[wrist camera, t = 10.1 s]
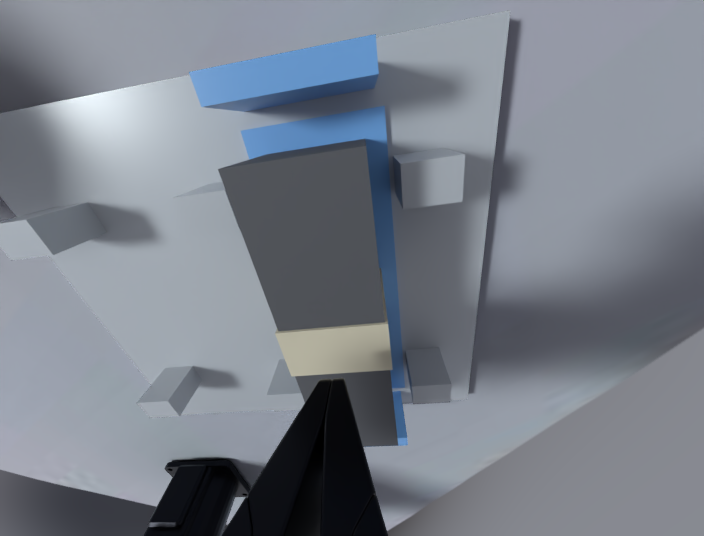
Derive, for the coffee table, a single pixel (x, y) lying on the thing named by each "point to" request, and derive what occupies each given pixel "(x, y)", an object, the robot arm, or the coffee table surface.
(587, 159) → the coffee table surface
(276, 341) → the block model on plate
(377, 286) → the gray banded bar
